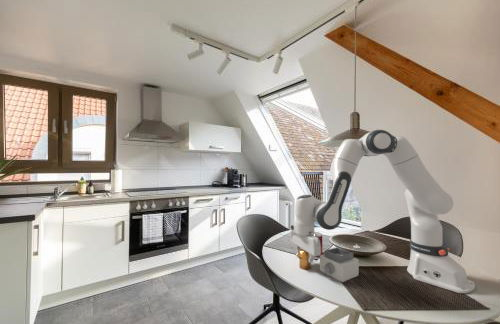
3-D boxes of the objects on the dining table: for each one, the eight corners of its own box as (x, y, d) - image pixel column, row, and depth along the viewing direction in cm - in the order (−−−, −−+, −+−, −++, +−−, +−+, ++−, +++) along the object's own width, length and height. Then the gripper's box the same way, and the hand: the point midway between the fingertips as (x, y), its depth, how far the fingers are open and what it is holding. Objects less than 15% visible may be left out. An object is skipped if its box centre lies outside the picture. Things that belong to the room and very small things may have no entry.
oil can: (306, 264, 113) (306, 247, 113) (313, 268, 108) (312, 251, 108) (293, 266, 110) (293, 250, 110) (299, 271, 105) (299, 254, 105)
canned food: (304, 254, 125) (304, 233, 125) (312, 249, 131) (311, 230, 131) (318, 258, 120) (317, 237, 120) (324, 253, 126) (324, 233, 126)
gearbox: (358, 275, 102) (358, 253, 102) (335, 284, 94) (335, 261, 94) (335, 264, 112) (335, 245, 112) (313, 272, 104) (313, 251, 104)
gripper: (324, 234, 101) (324, 266, 101) (298, 223, 120) (298, 249, 120) (312, 236, 99) (312, 268, 99) (288, 224, 118) (288, 251, 118)
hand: (304, 258), depth 110 cm, fingers open, 8 cm apart
